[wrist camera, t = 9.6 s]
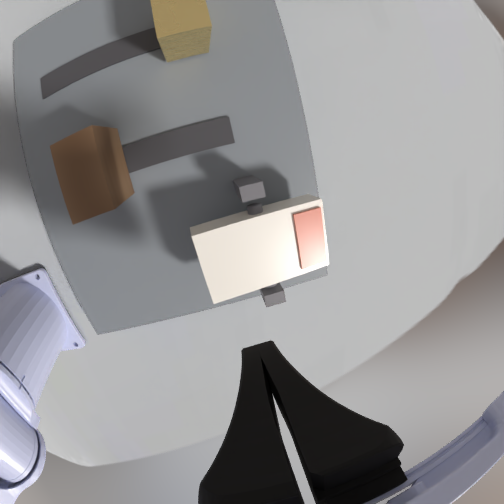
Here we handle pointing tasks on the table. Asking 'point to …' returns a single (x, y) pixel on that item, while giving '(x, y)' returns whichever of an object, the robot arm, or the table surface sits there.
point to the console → (161, 146)
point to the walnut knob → (91, 172)
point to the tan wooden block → (182, 27)
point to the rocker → (261, 246)
